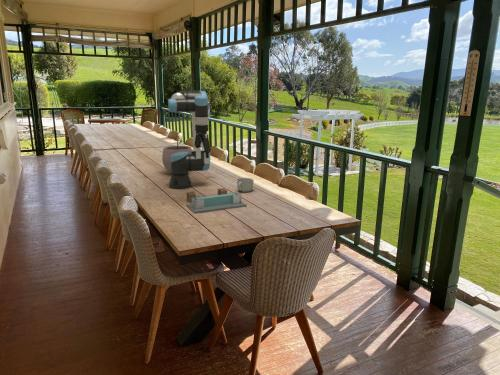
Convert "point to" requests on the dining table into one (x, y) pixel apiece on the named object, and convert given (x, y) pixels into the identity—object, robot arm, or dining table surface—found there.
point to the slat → (217, 199)
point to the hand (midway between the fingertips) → (202, 161)
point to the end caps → (200, 203)
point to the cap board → (216, 207)
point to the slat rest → (191, 194)
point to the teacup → (245, 184)
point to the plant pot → (171, 150)
